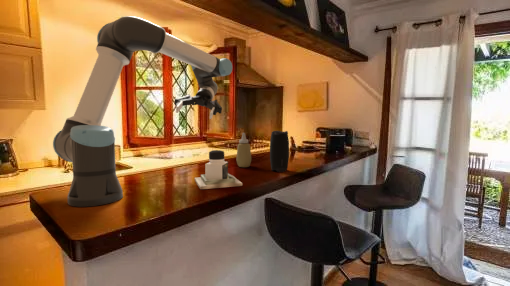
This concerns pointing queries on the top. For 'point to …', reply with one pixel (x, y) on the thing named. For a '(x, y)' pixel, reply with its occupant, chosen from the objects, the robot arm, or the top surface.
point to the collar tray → (217, 182)
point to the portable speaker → (279, 151)
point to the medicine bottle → (216, 166)
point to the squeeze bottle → (243, 152)
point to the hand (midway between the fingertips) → (193, 112)
